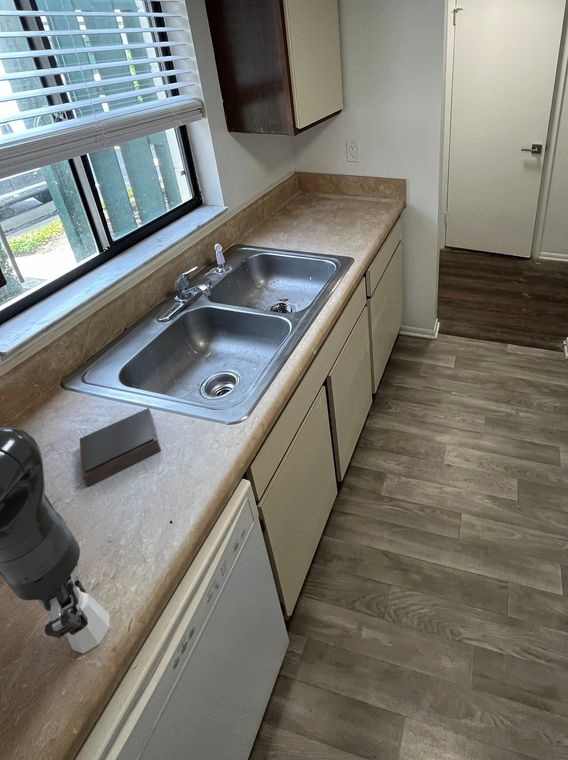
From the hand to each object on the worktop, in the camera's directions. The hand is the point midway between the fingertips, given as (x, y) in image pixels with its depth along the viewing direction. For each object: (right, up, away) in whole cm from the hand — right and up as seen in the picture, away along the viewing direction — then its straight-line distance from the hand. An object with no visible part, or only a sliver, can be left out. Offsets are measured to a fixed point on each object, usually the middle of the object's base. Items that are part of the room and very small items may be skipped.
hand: (79, 612), depth 67 cm
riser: (-14, +9, +32) cm, 35 cm away
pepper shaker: (0, -6, +3) cm, 6 cm away
